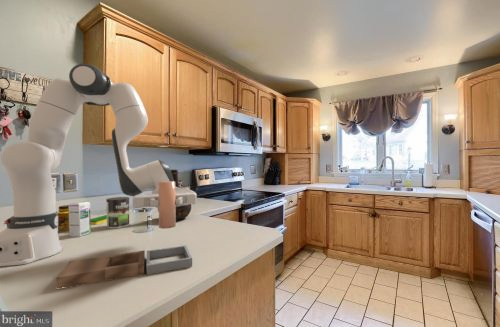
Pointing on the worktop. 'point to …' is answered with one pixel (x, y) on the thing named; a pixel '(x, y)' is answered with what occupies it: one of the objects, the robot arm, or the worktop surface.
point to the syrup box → (79, 219)
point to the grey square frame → (168, 264)
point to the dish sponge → (99, 220)
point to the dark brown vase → (180, 210)
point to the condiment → (63, 219)
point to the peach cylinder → (167, 204)
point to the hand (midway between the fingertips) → (167, 202)
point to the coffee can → (117, 212)
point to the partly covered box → (101, 269)
